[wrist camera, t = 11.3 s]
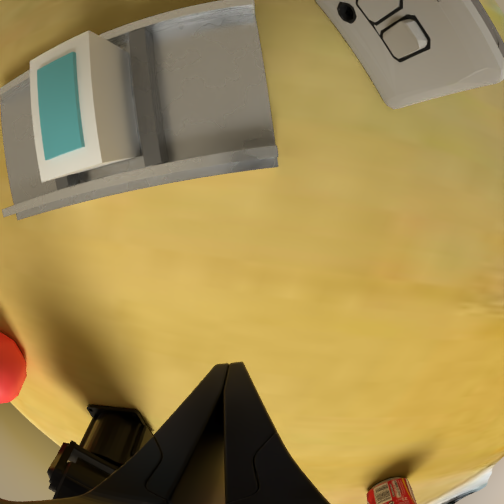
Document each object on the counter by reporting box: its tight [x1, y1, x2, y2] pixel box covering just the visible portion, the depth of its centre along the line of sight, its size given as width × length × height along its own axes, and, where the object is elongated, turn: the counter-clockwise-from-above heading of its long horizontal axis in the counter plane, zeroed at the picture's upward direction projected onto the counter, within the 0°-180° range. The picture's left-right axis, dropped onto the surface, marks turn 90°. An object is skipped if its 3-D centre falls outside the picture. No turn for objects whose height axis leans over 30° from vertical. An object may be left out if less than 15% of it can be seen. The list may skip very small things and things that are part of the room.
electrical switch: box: [315, 0, 504, 109], centre depth 11 cm, size 9×5×9 cm, turn 32°
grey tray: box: [0, 0, 278, 220], centre depth 16 cm, size 20×11×2 cm, turn 98°
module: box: [30, 30, 141, 182], centre depth 13 cm, size 4×7×5 cm, turn 8°
